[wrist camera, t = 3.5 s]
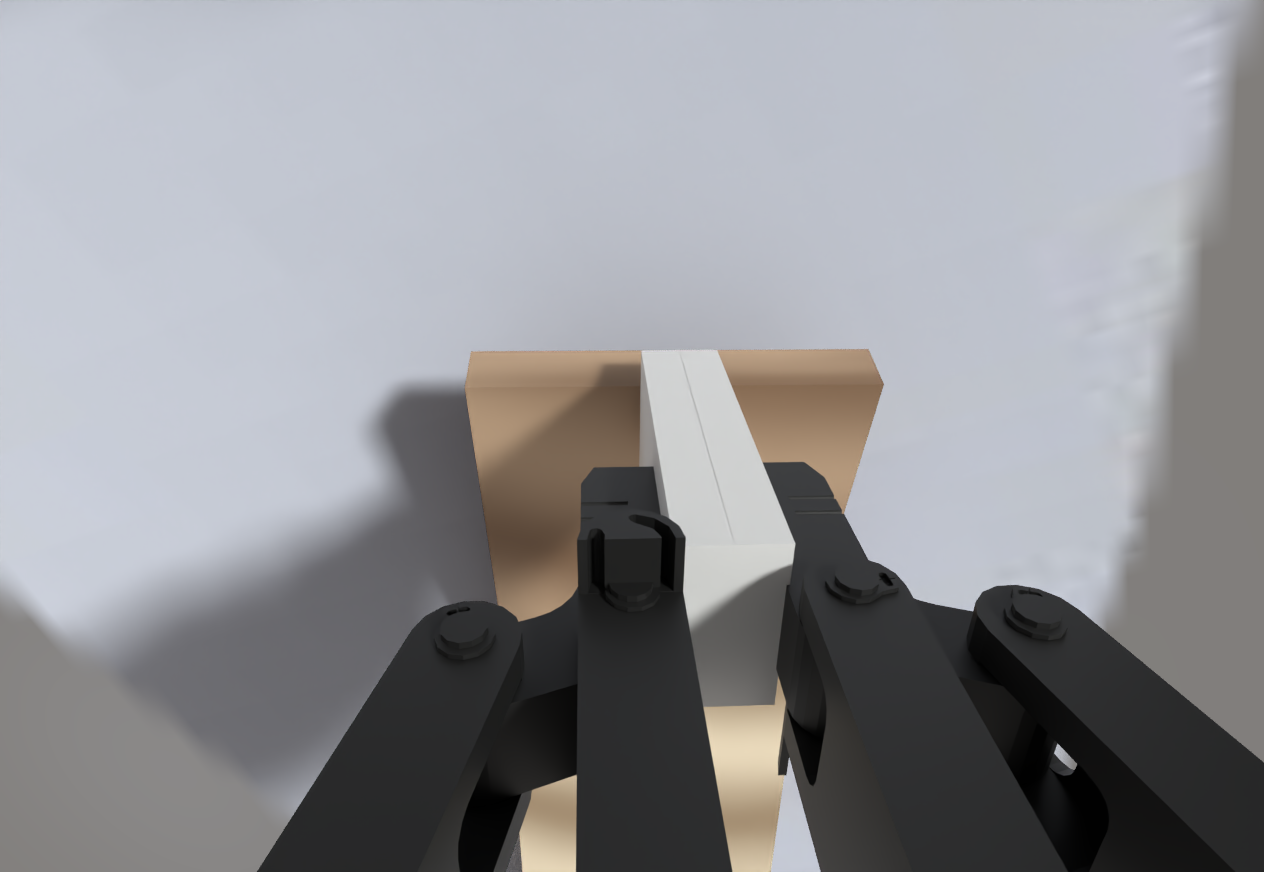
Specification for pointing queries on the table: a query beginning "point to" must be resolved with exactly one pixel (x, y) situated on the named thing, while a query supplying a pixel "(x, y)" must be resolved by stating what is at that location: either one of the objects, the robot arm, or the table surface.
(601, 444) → the plank
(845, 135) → the table surface
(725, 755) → the floorboard
